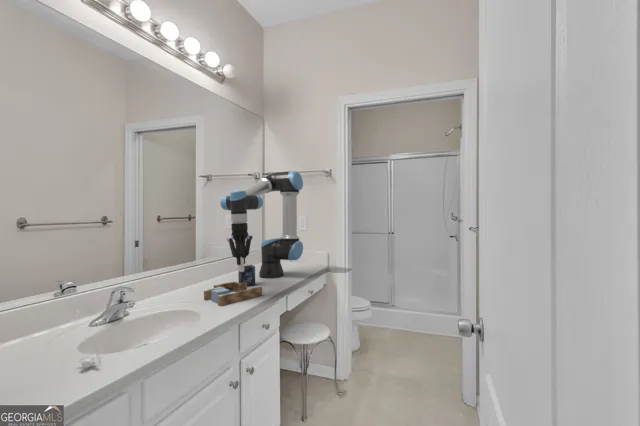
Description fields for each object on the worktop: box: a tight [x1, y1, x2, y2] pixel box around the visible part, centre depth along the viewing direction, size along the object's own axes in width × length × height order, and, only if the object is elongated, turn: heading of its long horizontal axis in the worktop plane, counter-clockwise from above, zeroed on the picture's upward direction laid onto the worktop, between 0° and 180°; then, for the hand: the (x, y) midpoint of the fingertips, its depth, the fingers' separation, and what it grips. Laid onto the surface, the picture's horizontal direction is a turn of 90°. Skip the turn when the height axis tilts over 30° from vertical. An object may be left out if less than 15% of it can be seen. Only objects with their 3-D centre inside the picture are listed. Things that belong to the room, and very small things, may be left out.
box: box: [237, 264, 256, 287], centre depth 173 cm, size 8×6×11 cm
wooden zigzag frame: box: [203, 281, 263, 307], centre depth 151 cm, size 22×22×4 cm
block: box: [210, 288, 230, 305], centre depth 144 cm, size 6×6×5 cm
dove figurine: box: [76, 348, 102, 369], centre depth 84 cm, size 8×5×5 cm, turn 78°
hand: (241, 271), depth 152 cm, fingers closed
